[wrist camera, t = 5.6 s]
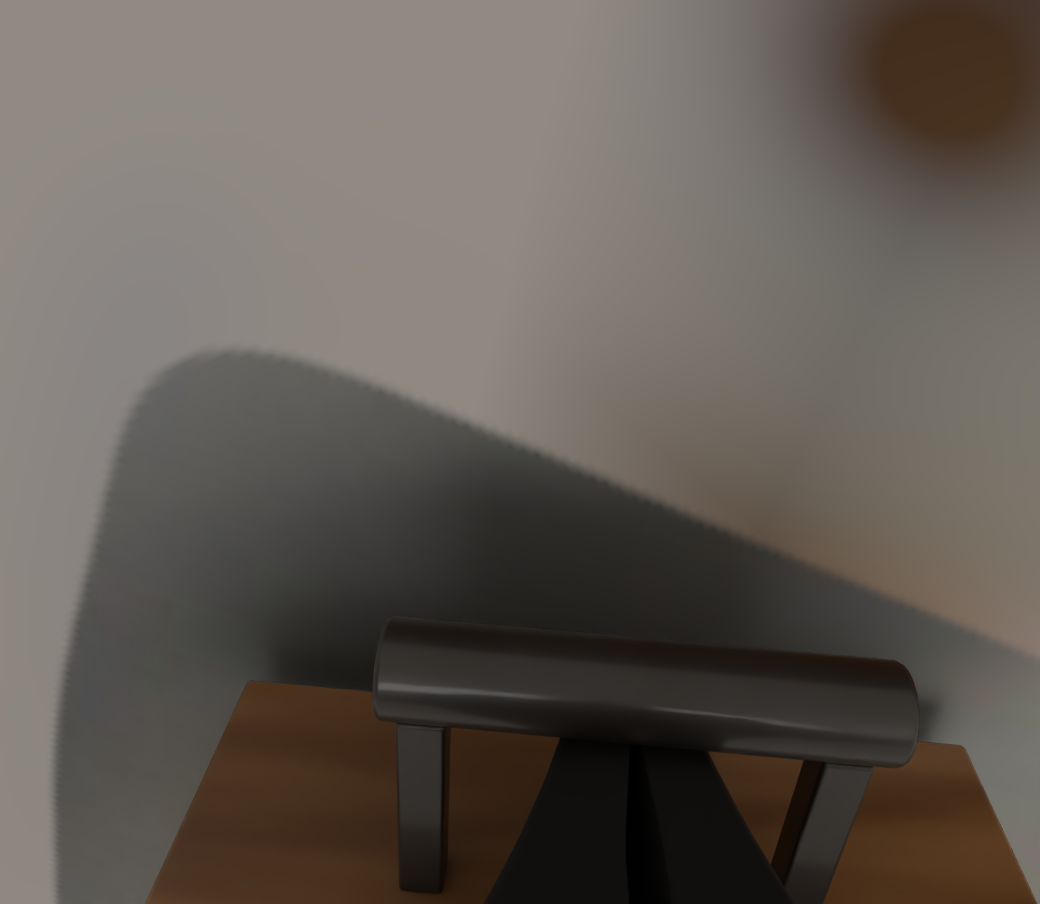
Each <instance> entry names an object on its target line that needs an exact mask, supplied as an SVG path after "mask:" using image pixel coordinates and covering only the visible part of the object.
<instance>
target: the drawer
mask: <svg viewBox="0 0 1040 904" xmlns="http://www.w3.org/2000/svg"><path fill="white" fill-rule="evenodd" d="M918 733H919V705H918V698H917V692H916V688H915V685H914V682H913V679H912V677H911V674H910V673H909V671H908V669H907V668H906V667H905V666H904V665H903V664H901V663H899V662H897V661H895V660H888V659H877V658H866V657H854V656H843V655H832V654H820V653H809V652H798V651H787V650H775V649H764V648H753V647H741V646H730V645H719V644H708V643H696V642H685V641H674V640H662V639H651V638H640V637H628V636H617V635H606V634H595V633H583V632H572V631H561V630H549V629H538V628H527V627H516V626H504V625H493V624H482V623H470V622H459V621H448V620H437V619H425V618H414V617H403V616H392V617H389V618H388V619H387V620H386V622H385V624H384V626H383V628H382V631H381V634H380V638H379V642H378V646H377V651H376V657H375V664H374V672H373V684H372V691H362V690H351V689H340V688H329V687H318V686H307V685H296V684H285V683H274V682H263V681H248V682H247V683H246V686H245V688H244V690H243V692H242V694H241V696H240V699H239V701H238V703H237V705H236V707H235V709H234V712H233V714H232V716H231V718H230V720H229V722H228V725H227V727H226V729H225V731H224V733H223V735H222V738H221V740H220V742H219V744H218V746H217V748H216V751H215V753H214V755H213V757H212V759H211V761H210V764H209V766H208V768H207V770H206V772H205V775H204V777H203V779H202V781H201V783H200V785H199V788H198V790H197V792H196V794H195V796H194V798H193V801H192V803H191V805H190V807H189V809H188V811H187V814H186V816H185V818H184V820H183V822H182V824H181V827H180V829H179V831H178V833H177V835H176V837H175V840H174V842H173V844H172V846H171V848H170V850H169V853H168V855H167V857H166V859H165V861H164V863H163V866H162V868H161V870H160V872H159V874H158V876H157V879H156V881H155V883H154V885H153V887H152V889H151V892H150V894H149V896H148V898H147V900H146V902H145V904H483V903H484V902H485V900H486V898H487V896H488V895H489V893H490V891H491V889H492V887H493V886H494V884H495V882H496V880H497V878H498V877H499V875H500V873H501V871H502V869H503V867H504V865H505V864H506V862H507V860H508V858H509V856H510V854H511V852H512V850H513V848H514V846H515V844H516V842H517V840H518V838H519V836H520V834H521V832H522V830H523V827H524V825H525V823H526V821H527V819H528V816H529V814H530V812H531V810H532V807H533V805H534V803H535V801H536V799H537V796H538V794H539V792H540V790H541V787H542V785H543V782H544V780H545V778H546V775H547V772H548V769H549V767H550V764H551V761H552V758H553V756H554V753H555V750H556V747H557V745H558V742H559V739H560V738H569V739H580V740H591V741H602V742H613V743H623V744H634V745H645V746H656V747H667V748H678V749H688V750H699V751H708V752H709V754H710V756H711V758H712V760H713V762H714V764H715V766H716V768H717V770H718V772H719V774H720V776H721V778H722V780H723V782H724V784H725V785H726V787H727V789H728V791H729V793H730V795H731V797H732V799H733V801H734V803H735V805H736V806H737V808H738V810H739V812H740V814H741V815H742V817H743V819H744V821H745V823H746V824H747V826H748V828H749V830H750V831H751V833H752V835H753V836H754V838H755V840H756V842H757V843H758V845H759V847H760V848H761V850H762V852H763V853H764V855H765V857H766V858H767V860H768V862H769V863H770V865H771V866H772V868H773V870H774V871H775V873H776V874H777V876H778V878H779V879H780V881H781V882H782V884H783V885H784V887H785V888H786V890H787V891H788V893H789V895H790V896H791V898H792V899H793V901H794V902H795V903H796V904H1037V902H1036V900H1035V898H1034V896H1033V894H1032V891H1031V889H1030V887H1029V885H1028V883H1027V881H1026V879H1025V876H1024V874H1023V872H1022V870H1021V868H1020V866H1019V864H1018V861H1017V859H1016V857H1015V855H1014V853H1013V851H1012V848H1011V846H1010V844H1009V842H1008V840H1007V838H1006V836H1005V833H1004V831H1003V829H1002V827H1001V825H1000V823H999V820H998V818H997V816H996V814H995V812H994V810H993V808H992V805H991V803H990V801H989V799H988V797H987V795H986V793H985V790H984V788H983V786H982V784H981V782H980V780H979V777H978V775H977V773H976V771H975V769H974V767H973V765H972V762H971V760H970V758H969V756H968V754H967V752H966V749H965V748H964V747H963V746H961V745H953V744H942V743H931V742H920V741H917V739H918Z"/></svg>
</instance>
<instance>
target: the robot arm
mask: <svg viewBox="0 0 1040 904" xmlns="http://www.w3.org/2000/svg"><path fill="white" fill-rule="evenodd" d="M483 904H796V903H795V902H794V901H793V899H792V898H791V896H790V895H789V893H788V891H787V890H786V888H785V887H784V885H783V884H782V882H781V881H780V879H779V878H778V876H777V874H776V873H775V871H774V870H773V868H772V866H771V865H770V863H769V862H768V860H767V858H766V857H765V855H764V853H763V852H762V850H761V848H760V847H759V845H758V843H757V842H756V840H755V838H754V836H753V835H752V833H751V831H750V830H749V828H748V826H747V824H746V823H745V821H744V819H743V817H742V815H741V814H740V812H739V810H738V808H737V806H736V805H735V803H734V801H733V799H732V797H731V795H730V793H729V791H728V789H727V787H726V785H725V784H724V782H723V780H722V778H721V776H720V774H719V772H718V770H717V768H716V766H715V764H714V762H713V760H712V758H711V756H710V754H709V752H708V751H699V750H688V749H678V748H667V747H656V746H645V745H634V744H623V743H613V742H602V741H591V740H580V739H569V738H560V739H559V742H558V745H557V747H556V750H555V753H554V756H553V758H552V761H551V764H550V767H549V769H548V772H547V775H546V778H545V780H544V782H543V785H542V787H541V790H540V792H539V794H538V796H537V799H536V801H535V803H534V805H533V807H532V810H531V812H530V814H529V816H528V819H527V821H526V823H525V825H524V827H523V830H522V832H521V834H520V836H519V838H518V840H517V842H516V844H515V846H514V848H513V850H512V852H511V854H510V856H509V858H508V860H507V862H506V864H505V865H504V867H503V869H502V871H501V873H500V875H499V877H498V878H497V880H496V882H495V884H494V886H493V887H492V889H491V891H490V893H489V895H488V896H487V898H486V900H485V902H484V903H483Z"/></svg>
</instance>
